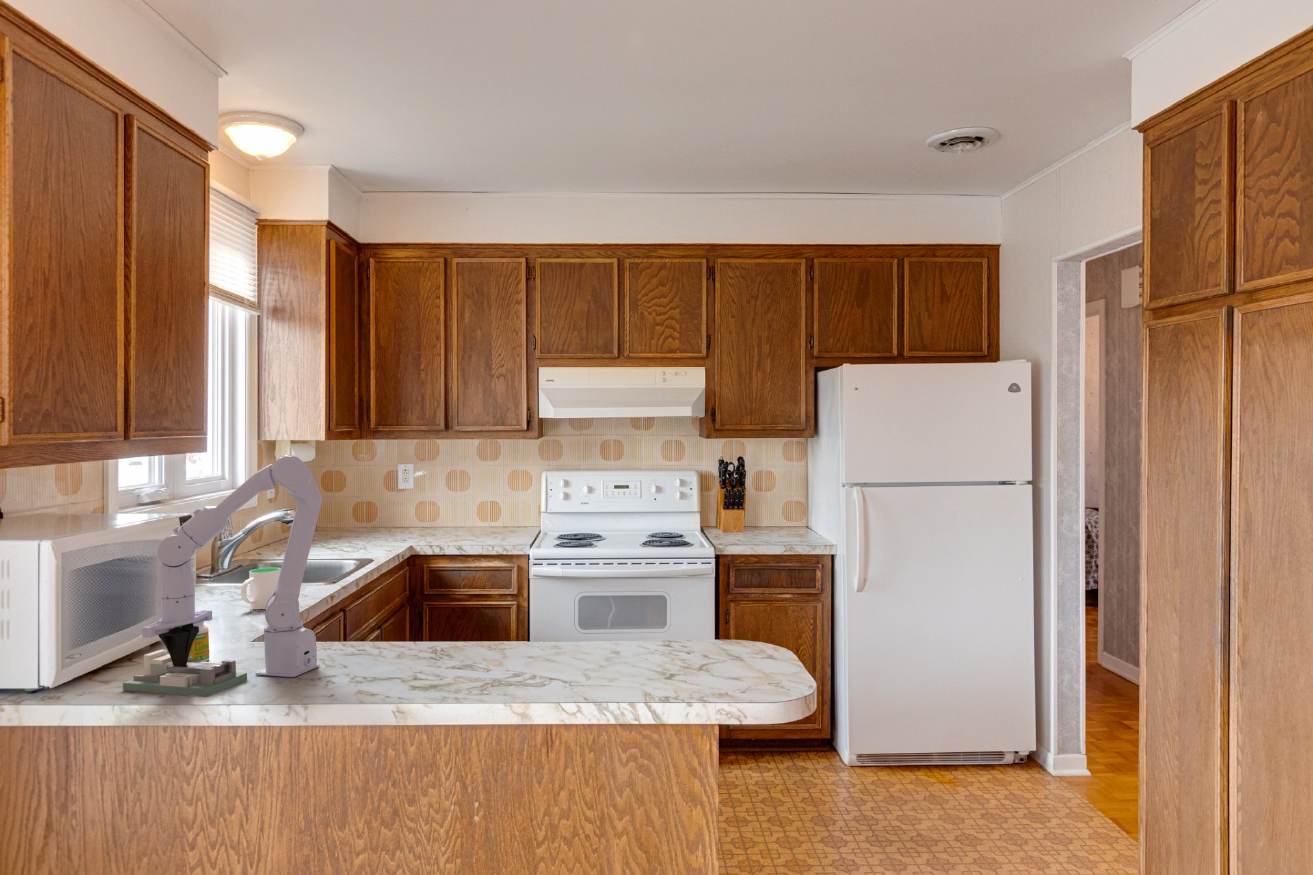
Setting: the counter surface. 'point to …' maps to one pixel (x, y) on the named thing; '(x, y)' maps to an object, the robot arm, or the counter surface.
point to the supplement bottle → (200, 645)
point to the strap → (198, 668)
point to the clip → (156, 663)
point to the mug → (260, 586)
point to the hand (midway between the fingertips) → (180, 665)
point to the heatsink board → (188, 681)
